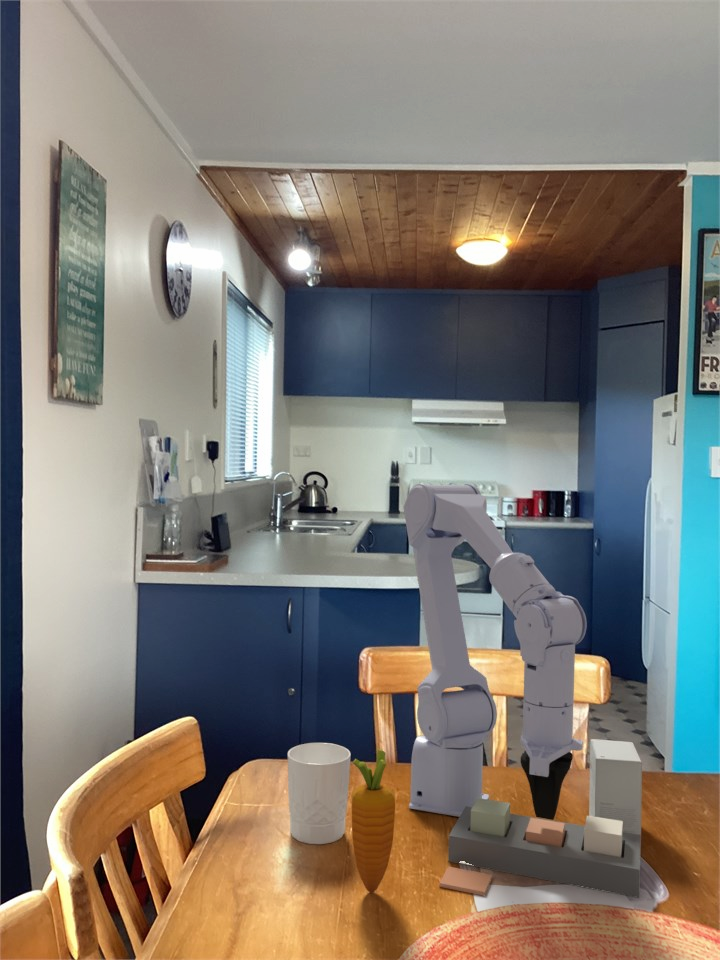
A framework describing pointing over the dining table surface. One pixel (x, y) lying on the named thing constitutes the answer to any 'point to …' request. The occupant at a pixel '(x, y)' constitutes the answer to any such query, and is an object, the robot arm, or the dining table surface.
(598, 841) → the key cream
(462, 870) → the tile
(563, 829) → the key terracotta
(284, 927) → the dining table surface
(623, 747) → the small box
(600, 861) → the keypad
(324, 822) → the white cup
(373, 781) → the carrot
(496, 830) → the key sage
